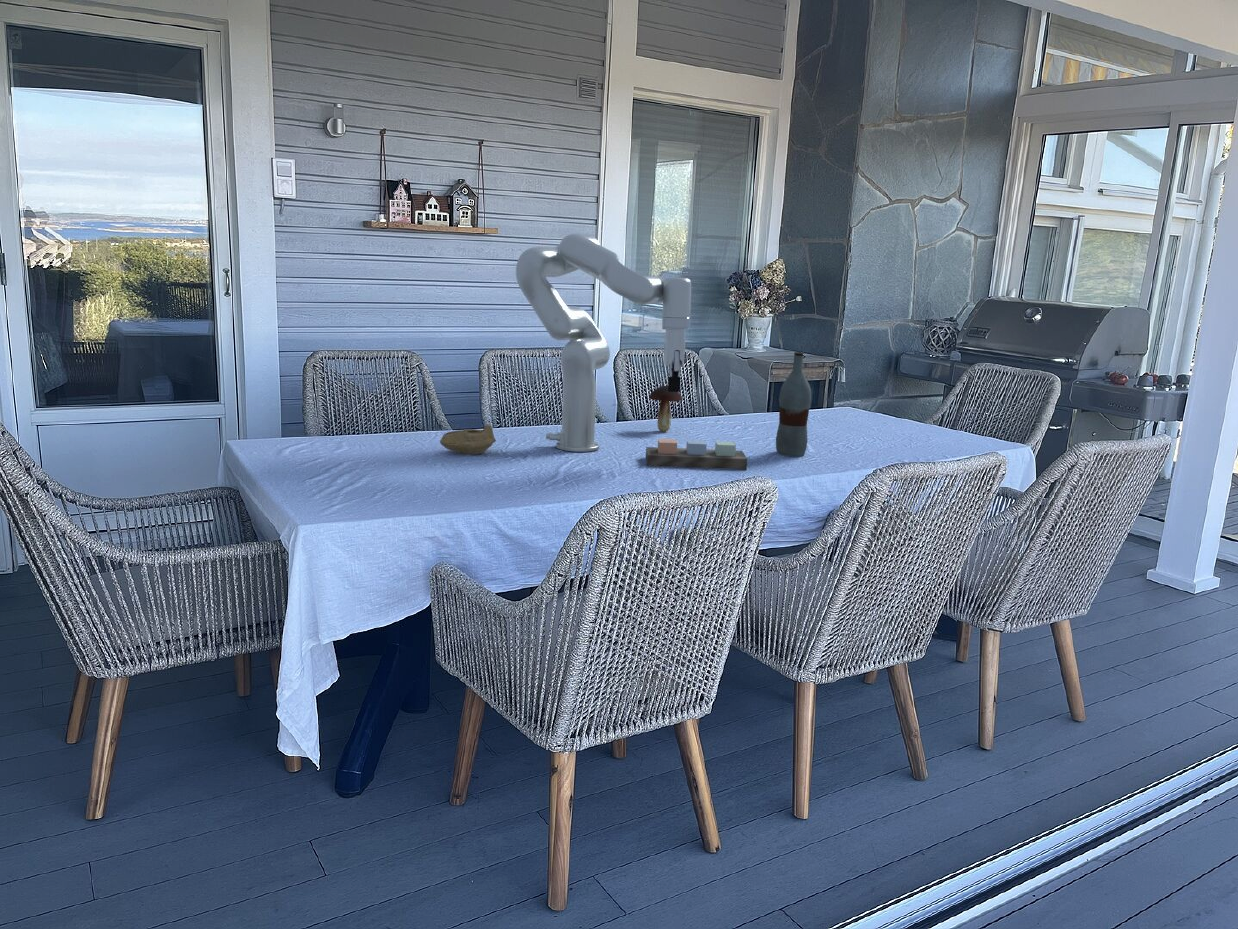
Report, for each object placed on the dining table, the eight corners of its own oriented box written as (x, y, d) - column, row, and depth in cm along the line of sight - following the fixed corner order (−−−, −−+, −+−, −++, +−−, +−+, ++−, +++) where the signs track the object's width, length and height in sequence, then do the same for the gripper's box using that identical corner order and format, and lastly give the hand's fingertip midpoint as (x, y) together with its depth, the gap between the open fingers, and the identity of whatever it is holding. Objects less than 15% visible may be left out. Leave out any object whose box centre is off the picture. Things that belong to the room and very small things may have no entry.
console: (647, 465, 261) (647, 455, 261) (645, 457, 272) (646, 446, 272) (746, 469, 262) (747, 458, 261) (741, 461, 273) (742, 450, 272)
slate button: (687, 459, 264) (688, 443, 263) (685, 455, 269) (686, 440, 268) (705, 460, 264) (706, 444, 263) (703, 456, 269) (704, 440, 268)
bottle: (768, 452, 286) (776, 351, 280) (785, 449, 293) (793, 350, 286) (795, 458, 280) (804, 354, 273) (812, 454, 287) (821, 353, 280)
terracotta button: (658, 458, 264) (659, 442, 263) (657, 454, 269) (658, 438, 268) (676, 459, 264) (677, 443, 263) (675, 455, 269) (676, 439, 268)
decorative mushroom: (648, 427, 319) (651, 382, 316) (682, 429, 317) (684, 384, 314) (645, 433, 308) (647, 386, 305) (679, 435, 307) (682, 388, 304)
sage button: (716, 460, 264) (717, 444, 264) (714, 457, 269) (715, 441, 268) (734, 461, 265) (735, 445, 264) (732, 457, 269) (733, 441, 268)
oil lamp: (434, 451, 268) (434, 423, 266) (484, 447, 276) (484, 420, 275) (450, 459, 259) (450, 430, 257) (501, 455, 267) (501, 426, 266)
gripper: (659, 321, 268) (657, 387, 272) (664, 325, 254) (662, 394, 258) (686, 322, 269) (684, 388, 273) (693, 326, 254) (690, 395, 258)
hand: (673, 391), depth 265 cm, fingers closed
